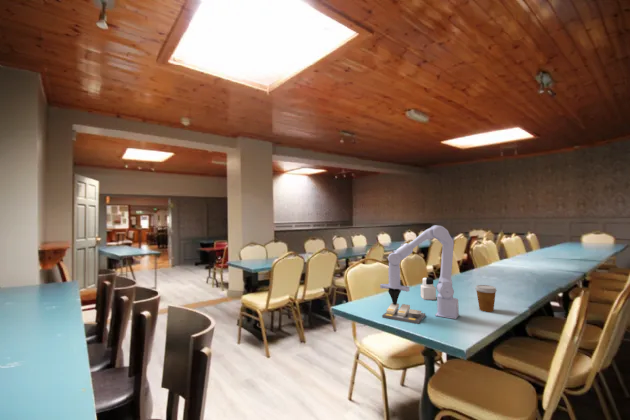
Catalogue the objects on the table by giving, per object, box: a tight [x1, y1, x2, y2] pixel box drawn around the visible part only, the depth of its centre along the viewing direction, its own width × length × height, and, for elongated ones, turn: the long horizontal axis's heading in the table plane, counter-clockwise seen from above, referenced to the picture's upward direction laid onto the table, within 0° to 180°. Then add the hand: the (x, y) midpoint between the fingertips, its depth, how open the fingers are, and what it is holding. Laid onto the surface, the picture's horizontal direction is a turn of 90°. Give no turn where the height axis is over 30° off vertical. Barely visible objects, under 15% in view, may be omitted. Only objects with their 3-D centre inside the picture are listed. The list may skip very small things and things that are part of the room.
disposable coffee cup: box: [475, 284, 497, 313], centre depth 159 cm, size 10×10×12 cm
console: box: [381, 308, 426, 325], centre depth 151 cm, size 17×13×2 cm
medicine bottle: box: [420, 276, 437, 301], centre depth 184 cm, size 7×7×12 cm
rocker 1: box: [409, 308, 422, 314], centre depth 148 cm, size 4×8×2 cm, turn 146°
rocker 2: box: [397, 303, 411, 316], centre depth 151 cm, size 4×8×2 cm, turn 146°
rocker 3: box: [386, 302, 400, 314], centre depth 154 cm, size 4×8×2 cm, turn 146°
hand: (394, 304), depth 156 cm, fingers closed, pressing on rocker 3
